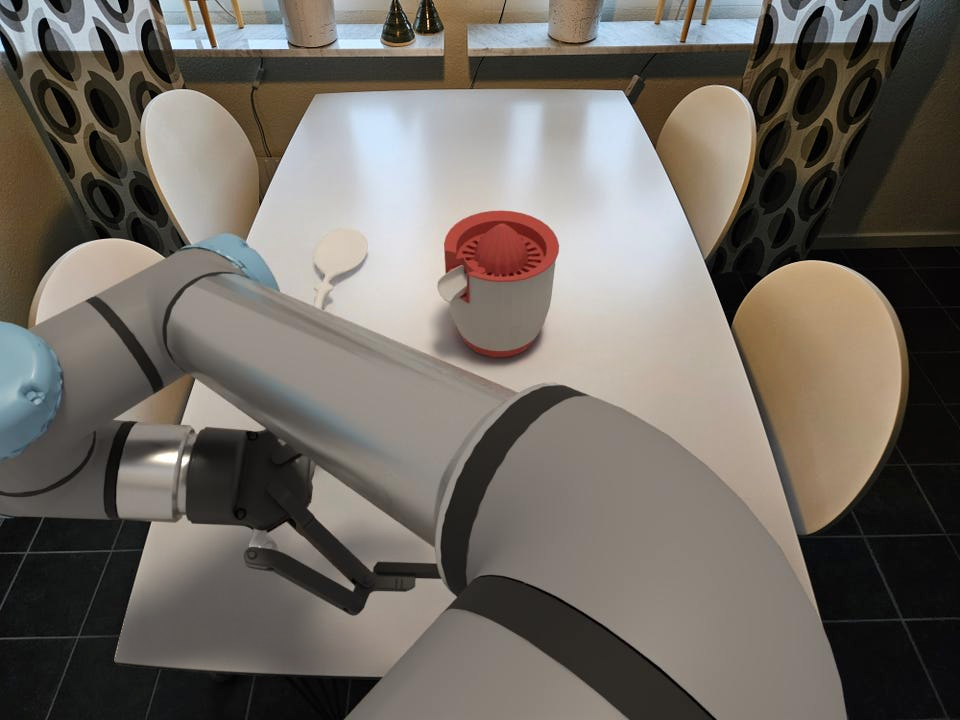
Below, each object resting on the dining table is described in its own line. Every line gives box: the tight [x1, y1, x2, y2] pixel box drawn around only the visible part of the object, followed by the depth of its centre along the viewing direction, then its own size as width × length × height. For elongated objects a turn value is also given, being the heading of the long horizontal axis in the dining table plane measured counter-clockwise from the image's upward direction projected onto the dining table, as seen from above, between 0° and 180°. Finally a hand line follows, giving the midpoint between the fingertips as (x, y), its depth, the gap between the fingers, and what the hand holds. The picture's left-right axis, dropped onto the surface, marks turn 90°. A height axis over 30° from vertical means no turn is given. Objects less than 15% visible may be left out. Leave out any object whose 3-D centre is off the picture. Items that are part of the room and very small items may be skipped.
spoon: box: [312, 227, 369, 310], centre depth 104 cm, size 9×32×4 cm, turn 175°
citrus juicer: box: [436, 210, 560, 358], centre depth 92 cm, size 16×17×20 cm
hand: (455, 490), depth 56 cm, fingers open, 13 cm apart
